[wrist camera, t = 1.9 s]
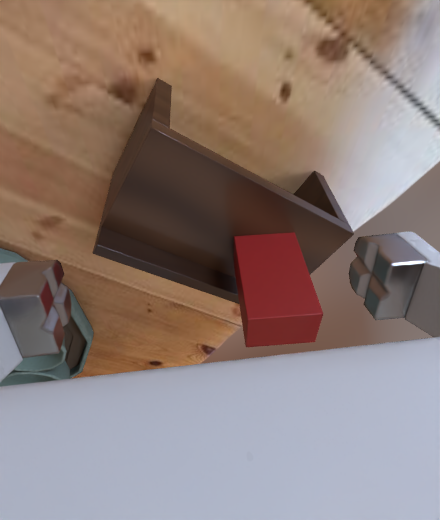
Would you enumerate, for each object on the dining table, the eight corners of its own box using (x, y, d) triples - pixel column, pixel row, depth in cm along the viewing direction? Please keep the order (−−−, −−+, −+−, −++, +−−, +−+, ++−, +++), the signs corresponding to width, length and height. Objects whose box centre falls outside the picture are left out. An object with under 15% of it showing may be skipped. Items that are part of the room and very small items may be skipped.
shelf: (157, 77, 35) (149, 142, 25) (323, 175, 44) (363, 250, 35) (112, 173, 42) (92, 253, 32) (264, 241, 51) (284, 319, 41)
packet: (233, 235, 35) (247, 319, 28) (294, 231, 36) (323, 313, 28) (233, 264, 38) (245, 347, 31) (290, 261, 38) (315, 342, 31)
